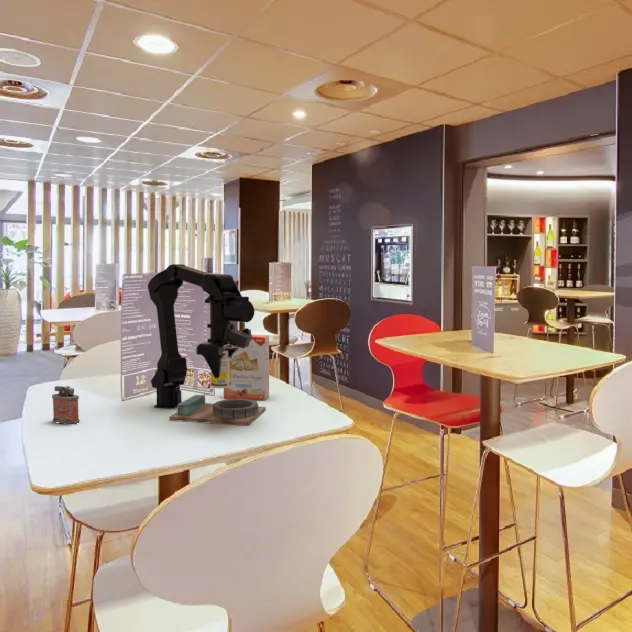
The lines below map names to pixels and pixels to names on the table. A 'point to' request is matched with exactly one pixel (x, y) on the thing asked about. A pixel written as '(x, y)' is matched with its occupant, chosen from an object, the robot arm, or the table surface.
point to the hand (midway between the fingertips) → (221, 375)
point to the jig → (218, 411)
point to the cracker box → (250, 370)
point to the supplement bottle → (223, 373)
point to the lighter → (65, 405)
